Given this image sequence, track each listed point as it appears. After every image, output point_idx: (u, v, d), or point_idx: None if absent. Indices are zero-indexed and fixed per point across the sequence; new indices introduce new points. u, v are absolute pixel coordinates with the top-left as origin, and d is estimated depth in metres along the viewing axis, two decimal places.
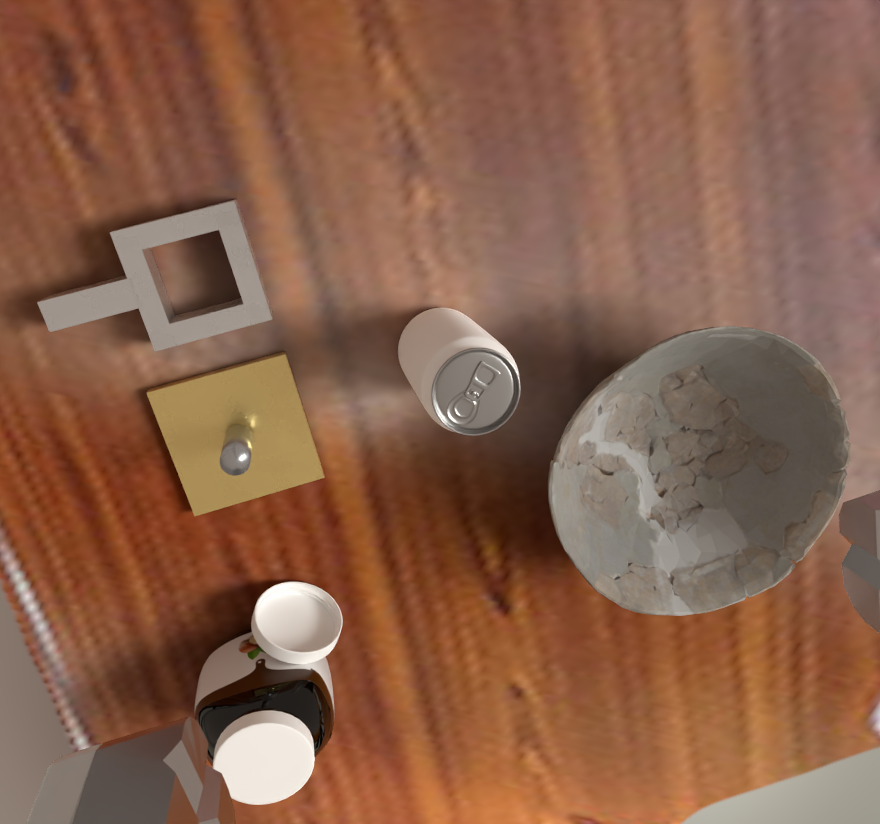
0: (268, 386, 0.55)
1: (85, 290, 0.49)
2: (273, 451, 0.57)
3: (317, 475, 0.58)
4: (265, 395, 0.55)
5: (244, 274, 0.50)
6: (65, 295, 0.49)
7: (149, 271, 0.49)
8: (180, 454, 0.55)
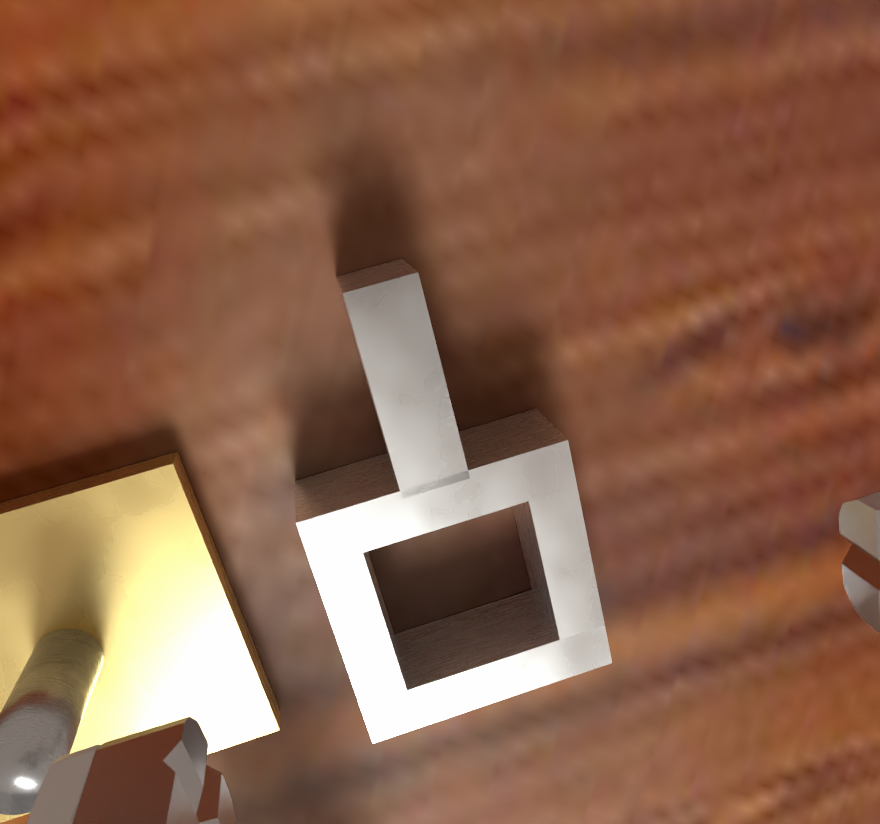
0: (203, 705, 0.25)
1: (443, 382, 0.21)
2: None
3: None
4: (179, 701, 0.24)
5: (469, 688, 0.24)
6: (432, 336, 0.20)
7: (481, 513, 0.22)
8: (5, 535, 0.22)
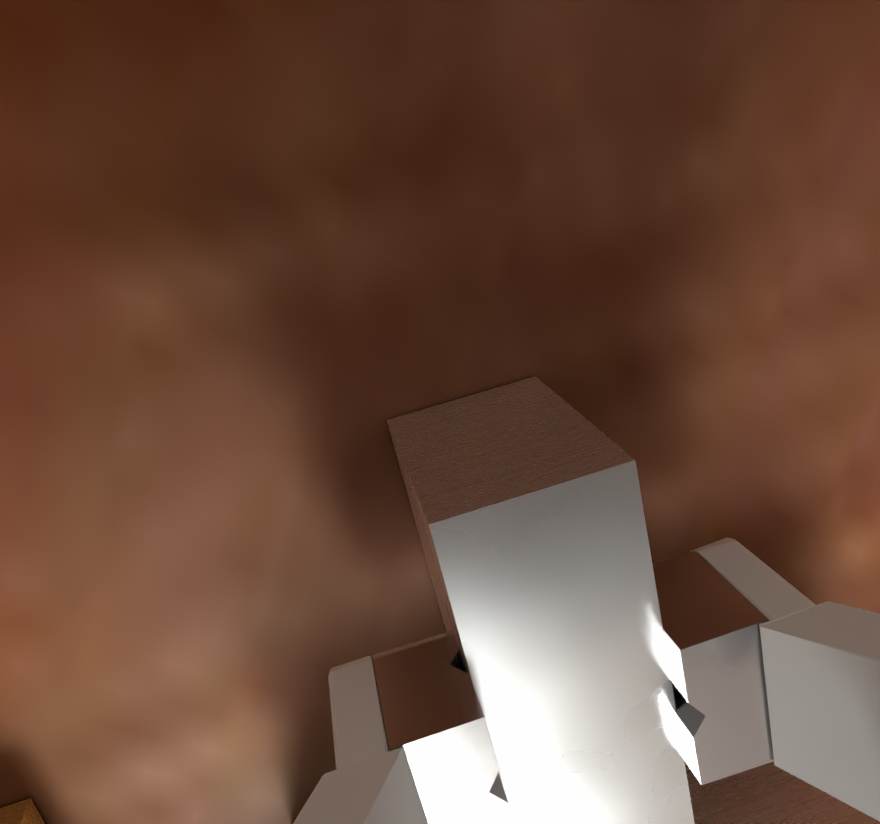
0: None
1: (671, 715, 0.08)
2: None
3: None
4: None
5: None
6: (652, 611, 0.08)
7: None
8: None
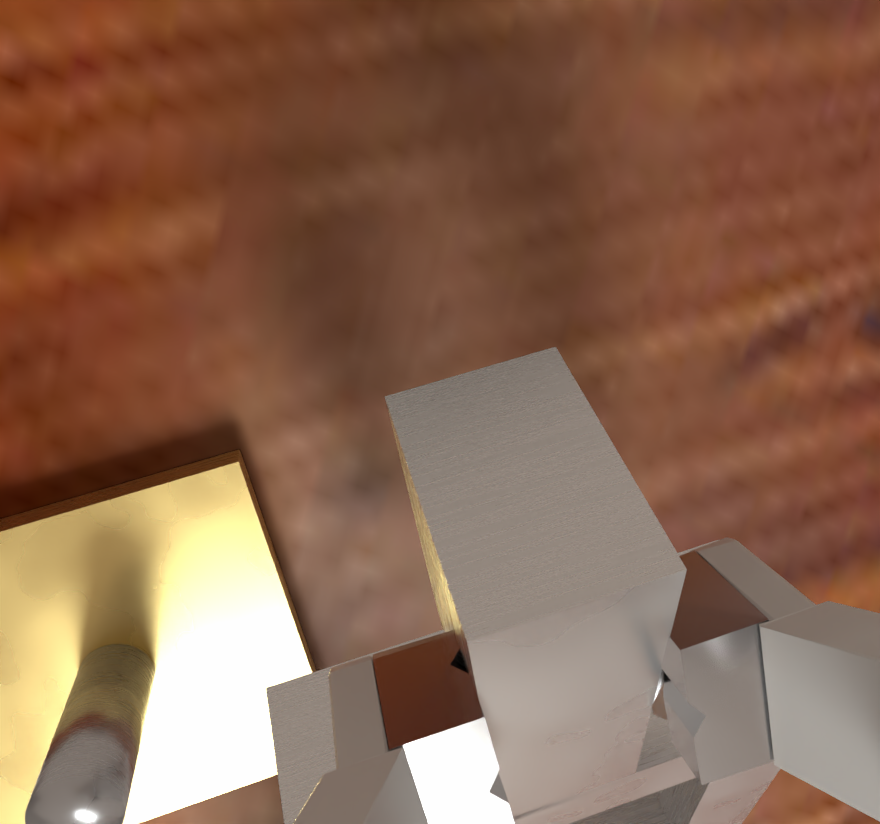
0: (259, 726, 0.23)
1: (648, 701, 0.09)
2: None
3: None
4: (234, 722, 0.22)
5: None
6: None
7: None
8: (53, 541, 0.20)
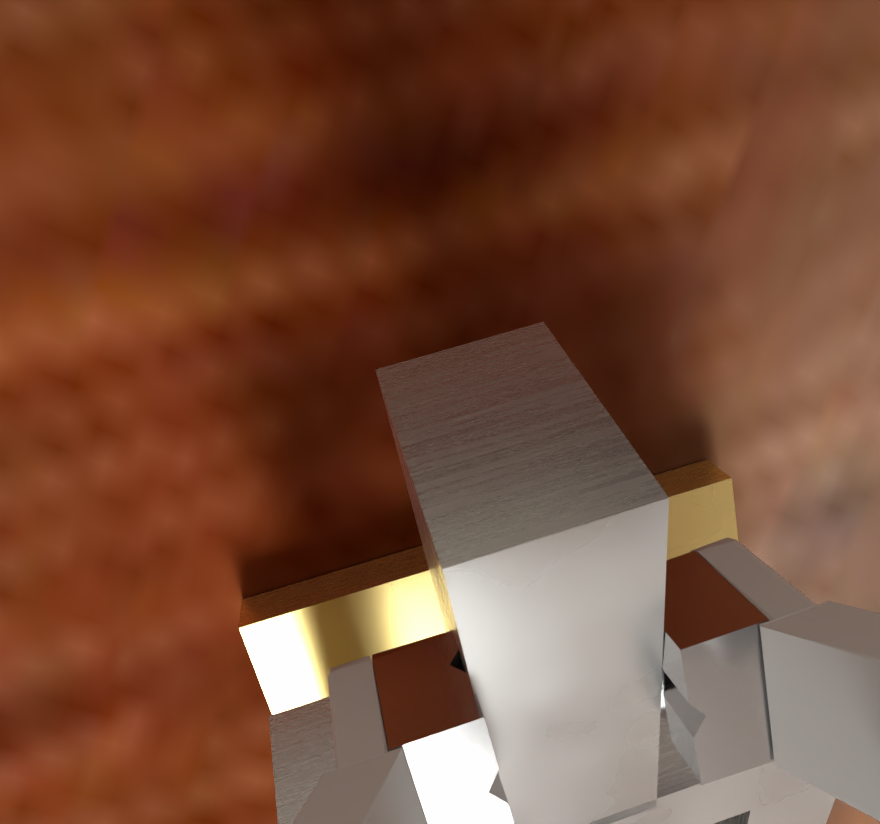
0: None
1: (655, 690, 0.08)
2: None
3: None
4: None
5: None
6: None
7: None
8: None
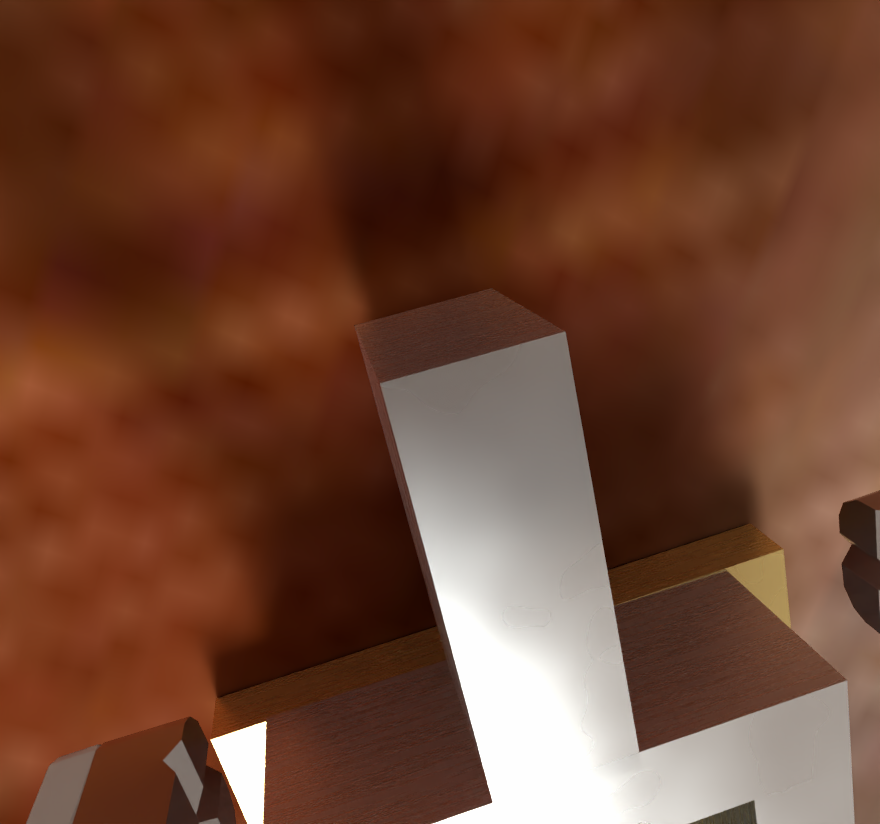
0: None
1: (603, 578, 0.09)
2: None
3: None
4: None
5: None
6: (584, 478, 0.09)
7: None
8: None
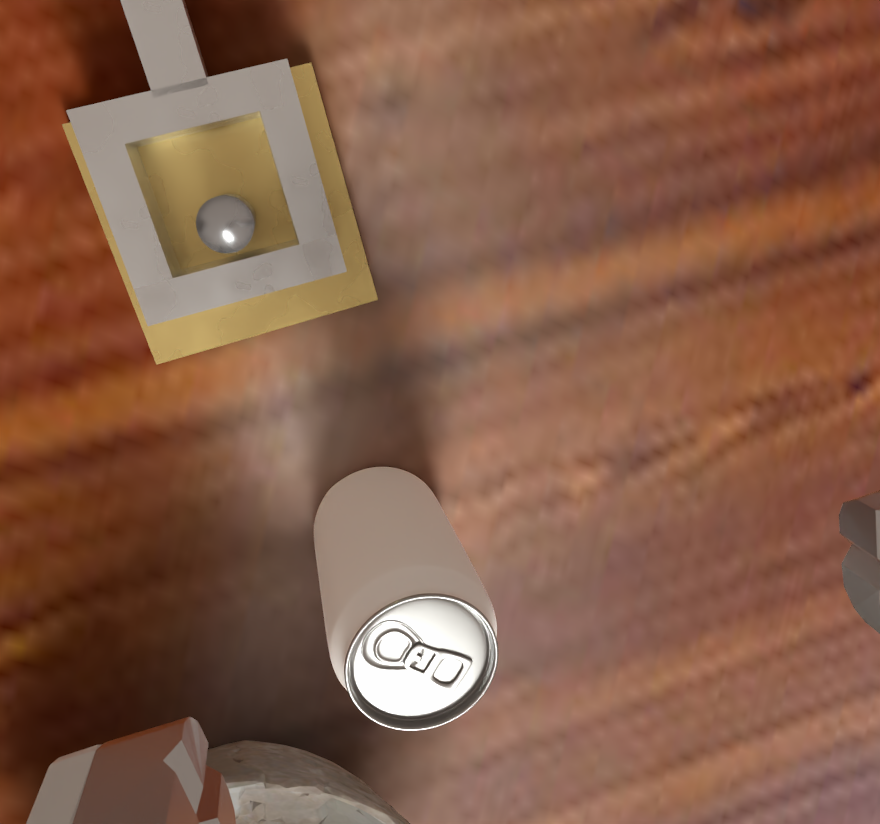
0: None
1: None
2: None
3: (160, 352, 0.33)
4: None
5: (226, 282, 0.30)
6: None
7: (221, 119, 0.28)
8: None
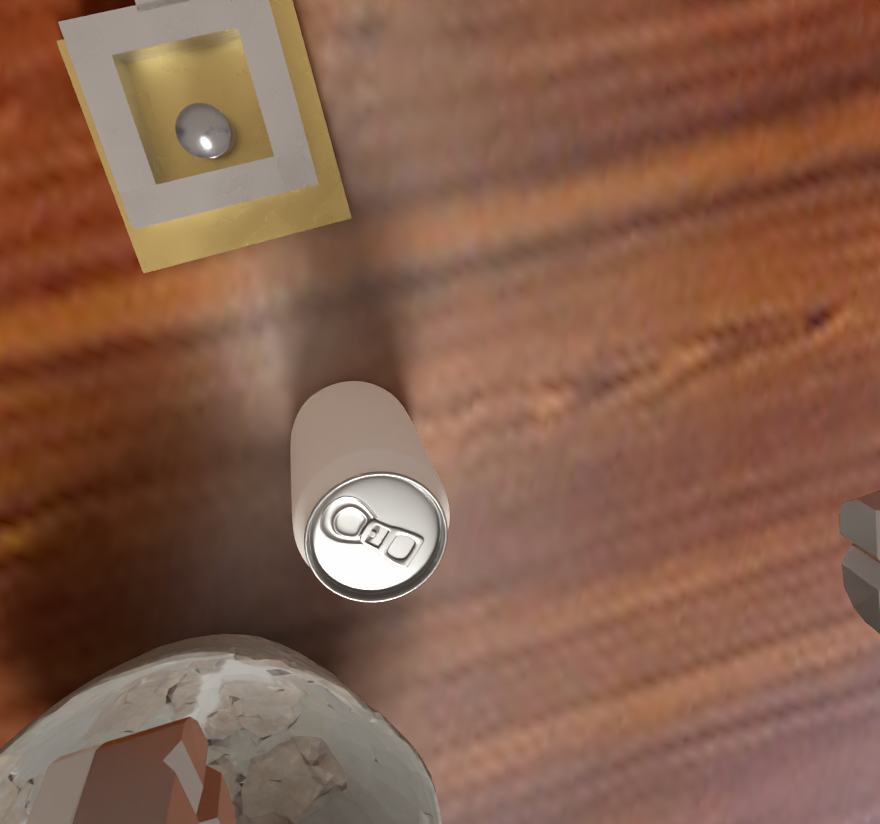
0: (300, 189, 0.36)
1: None
2: None
3: (146, 261, 0.35)
4: None
5: (205, 190, 0.32)
6: None
7: (201, 34, 0.30)
8: None
